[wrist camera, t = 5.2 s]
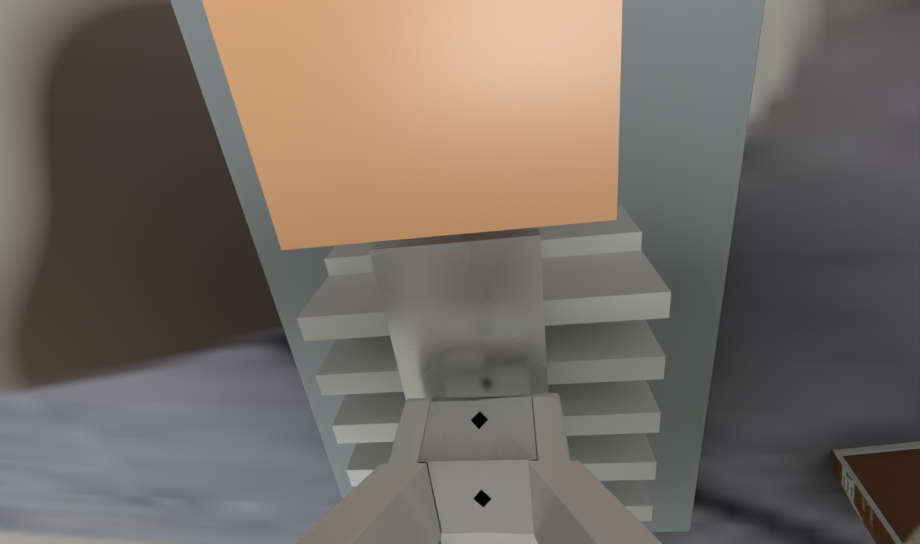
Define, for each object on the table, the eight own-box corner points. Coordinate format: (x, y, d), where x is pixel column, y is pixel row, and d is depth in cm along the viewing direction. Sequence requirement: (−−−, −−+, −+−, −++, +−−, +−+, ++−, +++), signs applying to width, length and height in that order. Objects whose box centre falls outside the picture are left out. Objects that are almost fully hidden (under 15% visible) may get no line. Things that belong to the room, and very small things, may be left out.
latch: (566, -160, 10) (703, -577, 4) (572, 130, 13) (654, 216, 6) (319, -113, 11) (28, -380, 4) (373, 153, 14) (251, 252, 7)
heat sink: (771, -229, 11) (1888, -1378, 2) (680, 507, 22) (799, 805, 13) (159, -108, 13) (-558, -444, 4) (361, 512, 24) (283, 774, 15)
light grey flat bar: (534, 210, 9) (541, 240, 7) (556, 610, 16) (561, 660, 14) (383, 224, 9) (366, 255, 8) (469, 609, 16) (467, 658, 15)
